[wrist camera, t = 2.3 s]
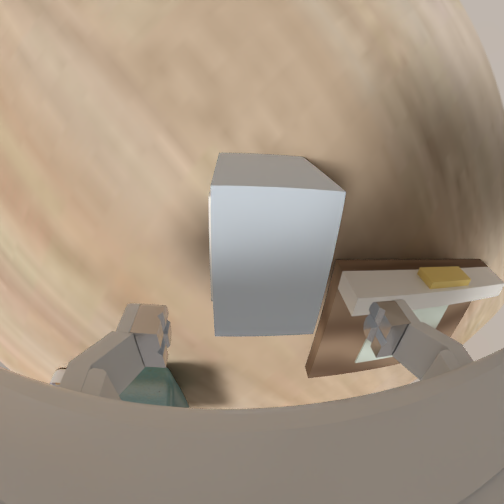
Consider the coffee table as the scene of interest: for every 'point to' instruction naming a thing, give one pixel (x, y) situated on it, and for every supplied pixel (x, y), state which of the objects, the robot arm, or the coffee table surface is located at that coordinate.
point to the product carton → (270, 243)
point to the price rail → (417, 287)
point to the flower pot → (154, 389)
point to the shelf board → (351, 327)
